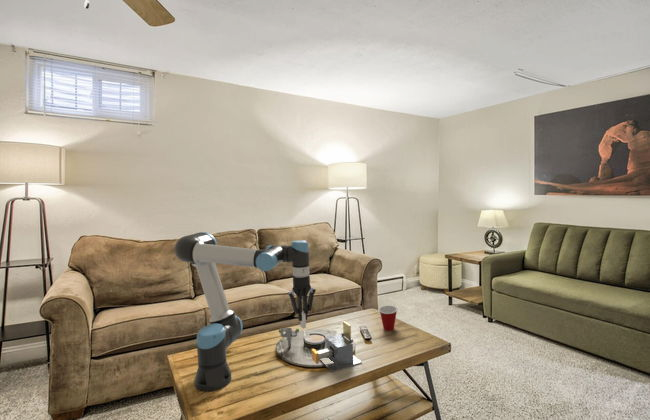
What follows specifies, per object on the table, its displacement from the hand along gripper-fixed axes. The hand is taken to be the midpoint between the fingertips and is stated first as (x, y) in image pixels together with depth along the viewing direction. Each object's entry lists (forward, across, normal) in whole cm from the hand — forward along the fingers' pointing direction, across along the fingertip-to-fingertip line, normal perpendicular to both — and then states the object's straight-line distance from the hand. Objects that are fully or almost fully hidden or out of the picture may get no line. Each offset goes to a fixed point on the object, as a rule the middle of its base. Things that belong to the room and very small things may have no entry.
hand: (303, 327), depth 153 cm
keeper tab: (+7, +23, 0) cm, 24 cm away
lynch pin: (+17, +12, 0) cm, 21 cm away
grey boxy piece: (+20, +18, 0) cm, 27 cm away
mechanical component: (+21, +2, +25) cm, 32 cm away
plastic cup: (+21, +60, +18) cm, 66 cm away
